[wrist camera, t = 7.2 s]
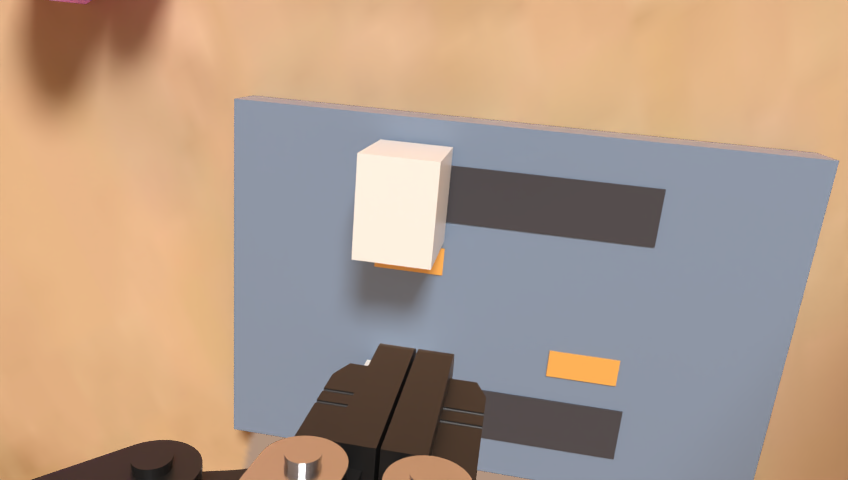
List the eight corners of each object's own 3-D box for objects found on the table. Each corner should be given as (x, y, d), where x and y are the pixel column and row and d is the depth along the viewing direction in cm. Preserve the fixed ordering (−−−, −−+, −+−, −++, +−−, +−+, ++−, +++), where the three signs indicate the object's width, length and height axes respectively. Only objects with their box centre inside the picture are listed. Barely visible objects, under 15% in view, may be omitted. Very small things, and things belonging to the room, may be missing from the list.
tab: (453, 147, 27) (440, 162, 23) (444, 241, 28) (430, 269, 24) (380, 139, 27) (357, 152, 23) (374, 232, 28) (351, 259, 24)
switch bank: (817, 153, 27) (840, 161, 25) (731, 487, 31) (744, 516, 29) (253, 95, 30) (233, 98, 28) (250, 408, 34) (233, 429, 32)
